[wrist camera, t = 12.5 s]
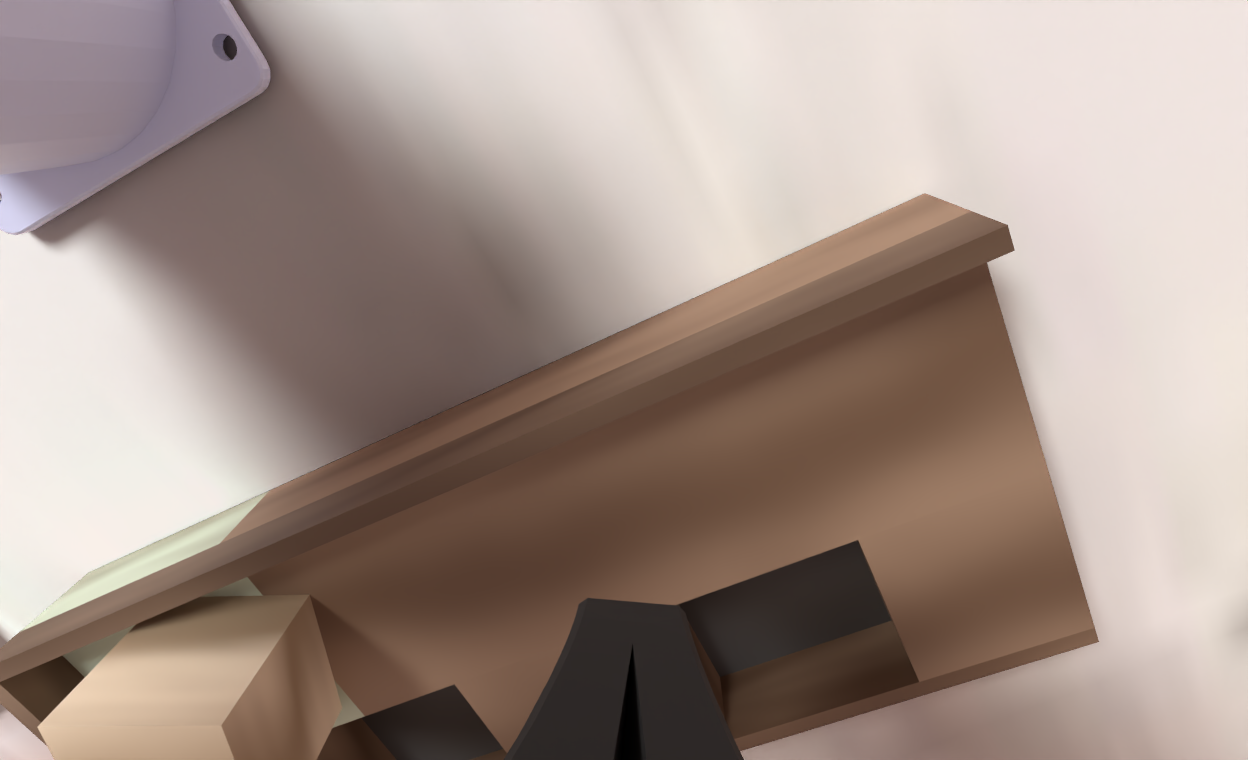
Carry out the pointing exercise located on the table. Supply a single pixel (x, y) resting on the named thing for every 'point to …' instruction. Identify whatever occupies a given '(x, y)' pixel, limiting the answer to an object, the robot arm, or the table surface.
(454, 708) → the trap box
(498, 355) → the table surface
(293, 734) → the maple block
